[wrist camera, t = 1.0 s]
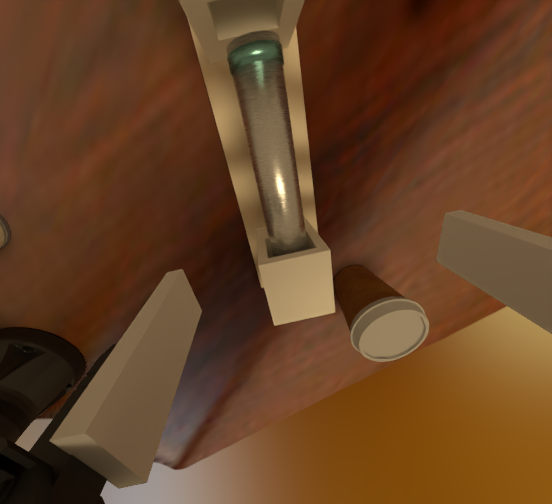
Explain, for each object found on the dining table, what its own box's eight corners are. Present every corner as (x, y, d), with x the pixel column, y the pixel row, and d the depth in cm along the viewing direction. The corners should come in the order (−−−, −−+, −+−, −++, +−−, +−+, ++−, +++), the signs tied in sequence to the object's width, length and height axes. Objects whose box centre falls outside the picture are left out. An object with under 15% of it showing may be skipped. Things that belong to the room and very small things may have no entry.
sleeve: (310, 264, 33) (335, 312, 24) (267, 273, 33) (274, 325, 24) (304, 216, 30) (330, 249, 20) (256, 226, 30) (258, 265, 20)
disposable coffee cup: (312, 287, 35) (338, 347, 25) (352, 245, 33) (401, 292, 22) (350, 310, 39) (387, 372, 28) (389, 274, 36) (448, 327, 25)
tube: (310, 282, 28) (319, 303, 25) (279, 289, 28) (284, 311, 25) (277, 50, 17) (284, 24, 14) (228, 61, 17) (221, 37, 14)
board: (321, 272, 34) (322, 274, 34) (261, 285, 34) (261, 287, 34) (281, -94, 18) (282, -101, 17) (164, -69, 18) (161, -76, 17)
